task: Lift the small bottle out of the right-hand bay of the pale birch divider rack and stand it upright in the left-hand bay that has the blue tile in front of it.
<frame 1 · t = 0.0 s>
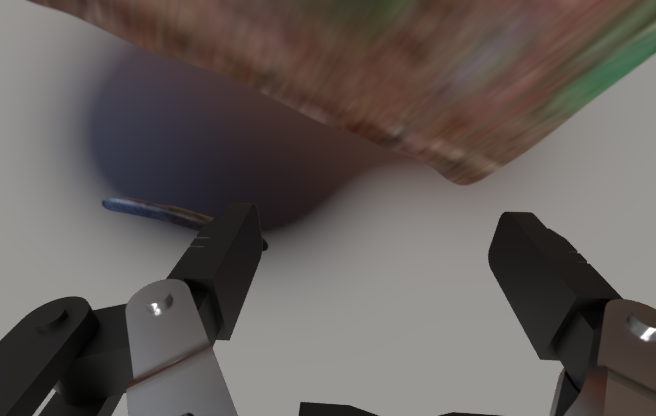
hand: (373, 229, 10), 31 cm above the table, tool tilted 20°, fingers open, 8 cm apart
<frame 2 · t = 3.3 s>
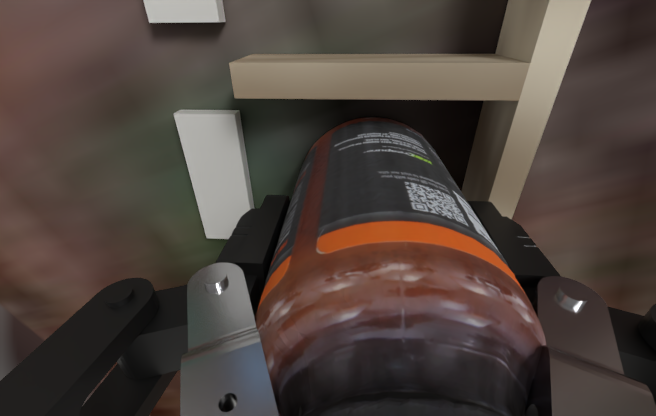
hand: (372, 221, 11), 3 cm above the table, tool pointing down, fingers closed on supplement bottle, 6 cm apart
supplement bottle: (368, 179, 14), on the table, touching gripper
when the fingers open (4 cm above the table, at t = 9.5 s): supplement bottle stays where it is, on the table.
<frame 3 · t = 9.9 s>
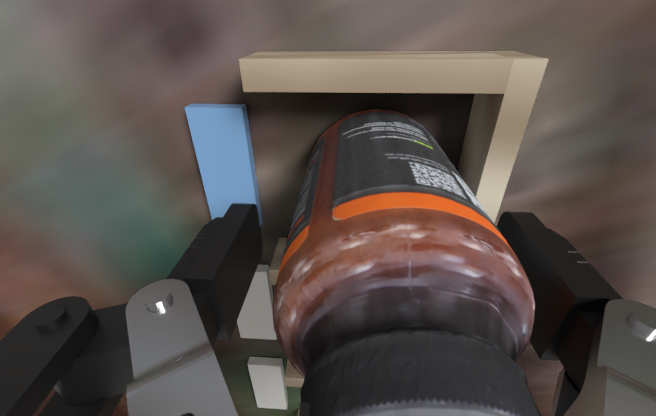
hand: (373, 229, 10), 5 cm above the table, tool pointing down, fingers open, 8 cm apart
divider rack: (359, 305, 19), on the table
supplement bottle: (373, 168, 15), on the table
bezel tiles: (255, 300, 20), on the table
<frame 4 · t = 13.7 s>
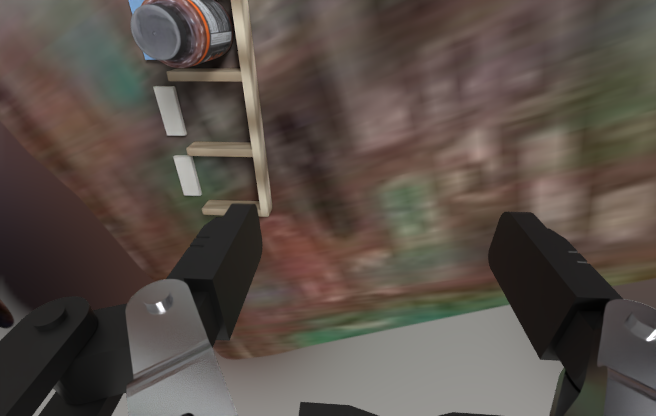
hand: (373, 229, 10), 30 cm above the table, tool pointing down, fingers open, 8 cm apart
divider rack: (221, 111, 39), on the table
supplement bottle: (209, 28, 35), on the table
bezel tiles: (172, 111, 40), on the table
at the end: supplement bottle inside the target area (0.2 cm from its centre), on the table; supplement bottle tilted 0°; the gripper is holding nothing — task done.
